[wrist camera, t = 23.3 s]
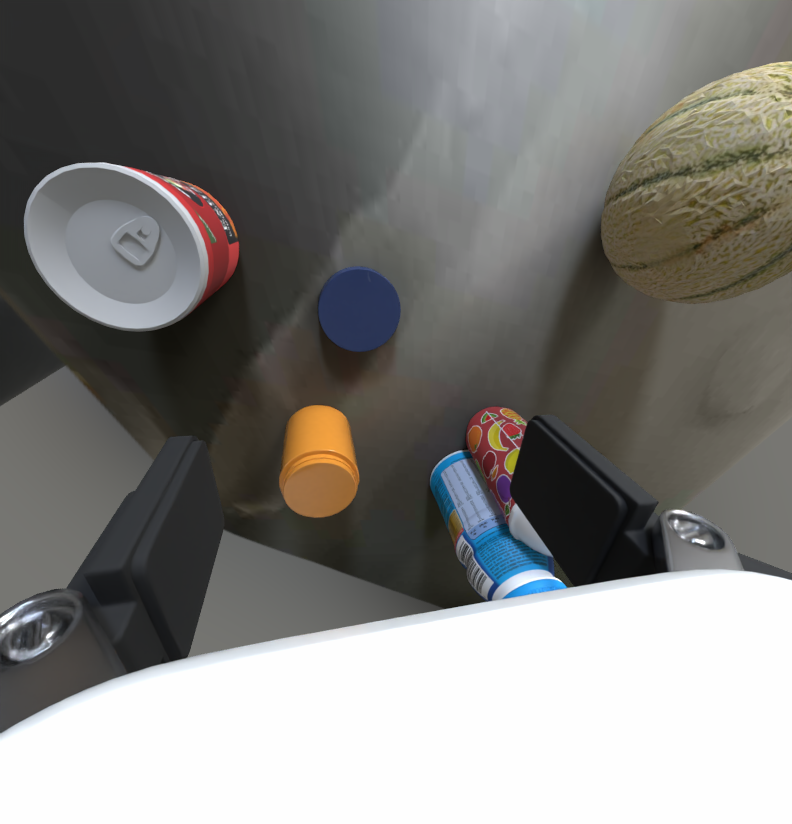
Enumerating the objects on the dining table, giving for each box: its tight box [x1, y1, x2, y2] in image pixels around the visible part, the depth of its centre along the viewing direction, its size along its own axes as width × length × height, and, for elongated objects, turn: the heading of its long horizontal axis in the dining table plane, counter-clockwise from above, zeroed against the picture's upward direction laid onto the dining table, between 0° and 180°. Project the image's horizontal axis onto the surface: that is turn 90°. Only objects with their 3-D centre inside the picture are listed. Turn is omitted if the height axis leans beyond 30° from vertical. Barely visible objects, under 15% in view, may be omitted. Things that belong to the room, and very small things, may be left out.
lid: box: [318, 267, 400, 352], centre depth 31 cm, size 7×7×2 cm
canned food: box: [24, 163, 239, 331], centre depth 22 cm, size 8×8×11 cm
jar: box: [279, 405, 359, 518], centre depth 34 cm, size 7×7×9 cm
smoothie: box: [466, 406, 553, 557], centre depth 33 cm, size 8×8×20 cm
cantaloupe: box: [601, 62, 792, 304], centre depth 26 cm, size 15×15×15 cm
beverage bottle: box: [430, 450, 567, 602], centre depth 36 cm, size 8×8×20 cm
